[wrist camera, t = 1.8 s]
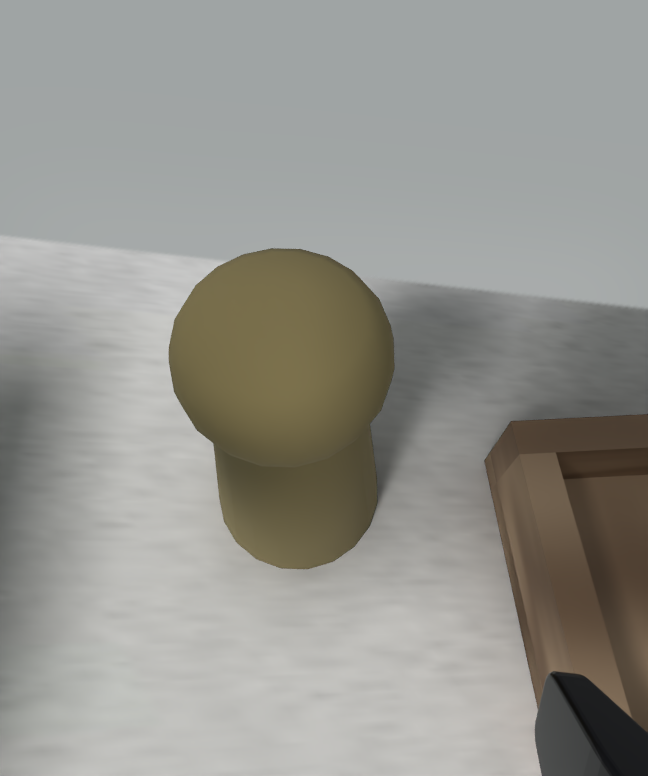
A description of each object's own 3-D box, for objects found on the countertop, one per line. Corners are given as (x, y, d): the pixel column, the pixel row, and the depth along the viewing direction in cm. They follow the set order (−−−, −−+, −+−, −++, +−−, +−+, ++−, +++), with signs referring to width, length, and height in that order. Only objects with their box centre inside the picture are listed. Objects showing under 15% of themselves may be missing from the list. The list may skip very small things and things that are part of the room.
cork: (335, 395, 23) (344, 178, 13) (406, 525, 20) (481, 370, 11) (197, 452, 22) (98, 257, 12) (254, 599, 19) (183, 497, 9)
